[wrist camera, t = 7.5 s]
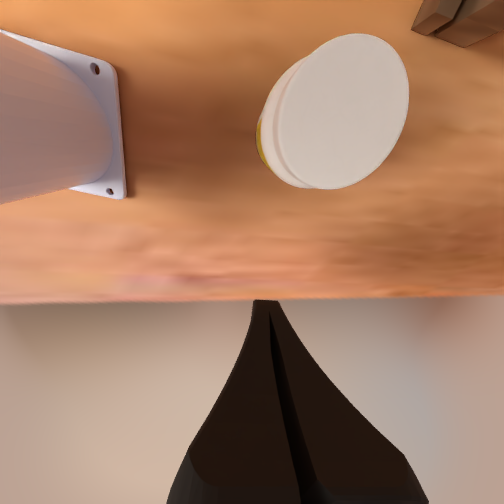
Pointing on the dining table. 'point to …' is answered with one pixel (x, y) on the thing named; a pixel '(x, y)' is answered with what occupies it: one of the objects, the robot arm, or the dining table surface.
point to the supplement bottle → (334, 113)
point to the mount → (460, 19)
